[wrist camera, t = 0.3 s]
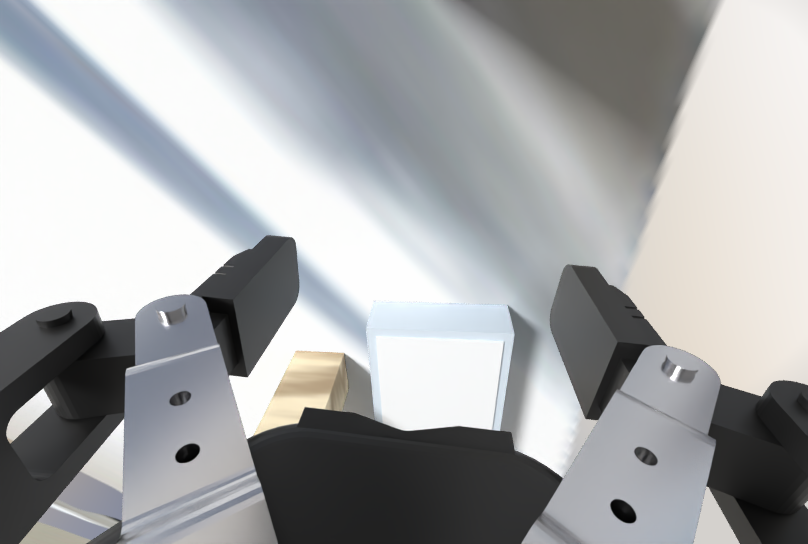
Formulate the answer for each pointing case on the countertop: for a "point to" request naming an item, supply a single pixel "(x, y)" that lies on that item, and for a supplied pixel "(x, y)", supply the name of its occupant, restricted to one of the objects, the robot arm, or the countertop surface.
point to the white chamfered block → (439, 364)
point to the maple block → (307, 388)
